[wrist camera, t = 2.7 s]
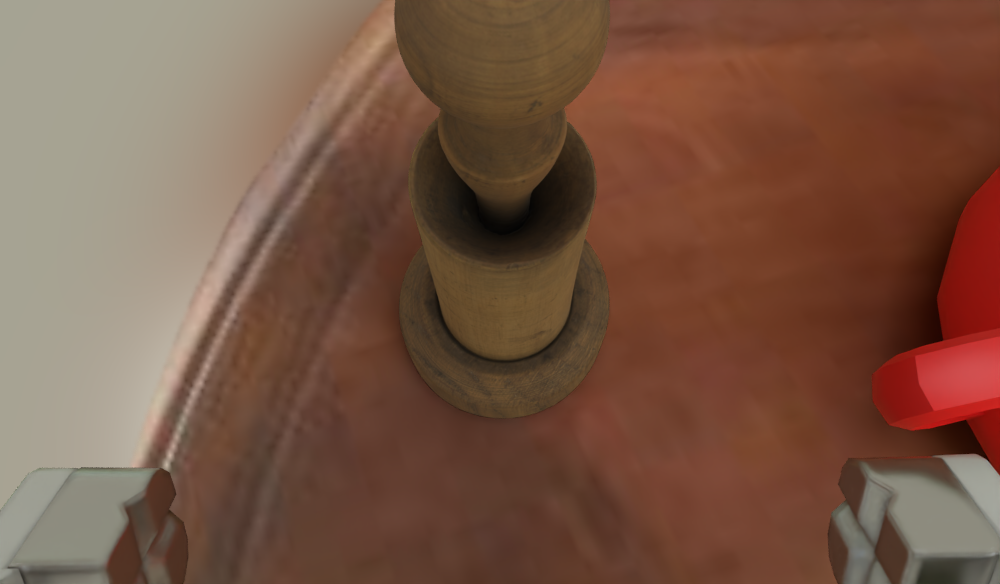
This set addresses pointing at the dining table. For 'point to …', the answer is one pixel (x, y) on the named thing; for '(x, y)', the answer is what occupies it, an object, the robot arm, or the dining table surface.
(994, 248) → the teapot
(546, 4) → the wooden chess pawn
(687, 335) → the dining table surface
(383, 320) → the dining table surface
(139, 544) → the robot arm
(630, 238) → the dining table surface
